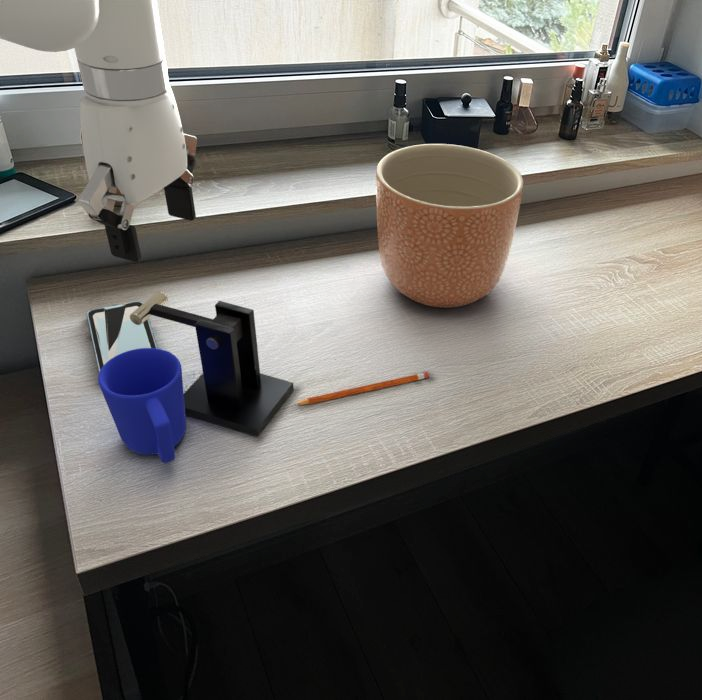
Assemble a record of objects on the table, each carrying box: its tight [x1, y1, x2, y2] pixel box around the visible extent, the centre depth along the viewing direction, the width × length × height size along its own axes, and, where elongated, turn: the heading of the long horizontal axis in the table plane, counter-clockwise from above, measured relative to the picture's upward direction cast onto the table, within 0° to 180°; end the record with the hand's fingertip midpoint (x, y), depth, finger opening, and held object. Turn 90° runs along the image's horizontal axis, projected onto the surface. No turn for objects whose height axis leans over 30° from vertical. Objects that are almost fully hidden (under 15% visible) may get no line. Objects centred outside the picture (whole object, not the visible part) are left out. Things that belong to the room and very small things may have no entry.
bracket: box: [184, 300, 295, 437], centre depth 85 cm, size 11×9×13 cm
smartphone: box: [86, 300, 159, 373], centre depth 95 cm, size 7×1×15 cm
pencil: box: [294, 371, 430, 406], centre depth 92 cm, size 1×18×1 cm, turn 115°
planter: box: [375, 143, 525, 309], centre depth 107 cm, size 21×21×19 cm
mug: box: [97, 348, 187, 464], centre depth 79 cm, size 8×12×10 cm
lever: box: [130, 291, 243, 342], centre depth 83 cm, size 12×5×2 cm, turn 73°
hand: (156, 236), depth 78 cm, fingers open, 9 cm apart
